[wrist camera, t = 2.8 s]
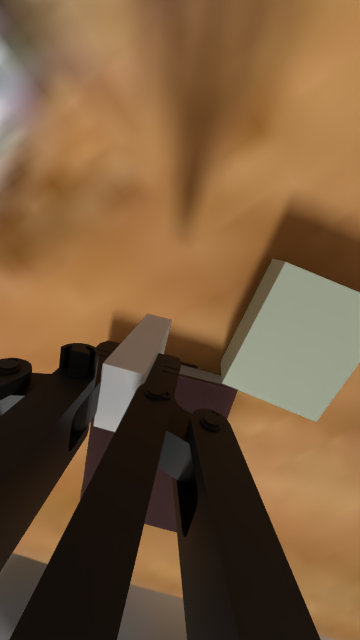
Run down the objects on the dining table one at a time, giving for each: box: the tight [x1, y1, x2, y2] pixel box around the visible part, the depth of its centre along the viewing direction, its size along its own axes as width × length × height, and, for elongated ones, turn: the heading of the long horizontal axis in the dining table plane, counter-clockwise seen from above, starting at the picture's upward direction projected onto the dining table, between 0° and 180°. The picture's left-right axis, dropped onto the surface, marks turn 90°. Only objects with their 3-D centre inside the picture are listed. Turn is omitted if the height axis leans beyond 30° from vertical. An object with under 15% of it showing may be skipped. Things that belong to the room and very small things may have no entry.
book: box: [80, 362, 237, 532], centre depth 26 cm, size 12×19×3 cm, turn 167°
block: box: [220, 258, 360, 422], centre depth 20 cm, size 10×8×4 cm
